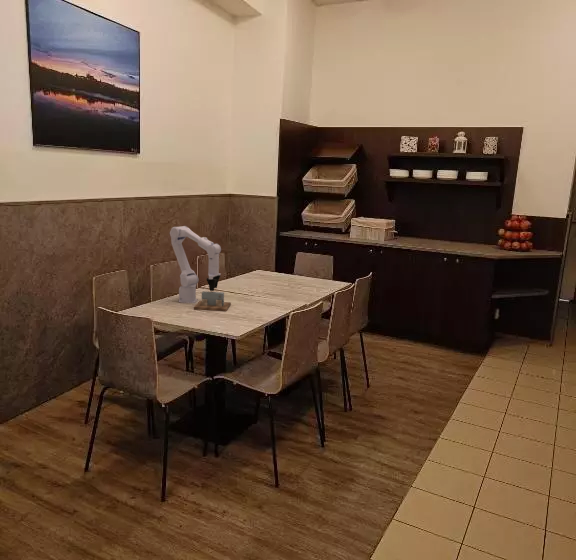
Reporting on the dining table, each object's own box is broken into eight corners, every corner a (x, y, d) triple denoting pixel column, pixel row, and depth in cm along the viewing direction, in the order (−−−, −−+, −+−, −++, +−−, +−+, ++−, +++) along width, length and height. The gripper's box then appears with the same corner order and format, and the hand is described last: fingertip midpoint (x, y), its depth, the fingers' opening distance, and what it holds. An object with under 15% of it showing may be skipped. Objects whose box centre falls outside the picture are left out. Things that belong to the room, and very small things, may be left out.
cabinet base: (193, 309, 277) (193, 300, 276) (199, 303, 290) (199, 294, 289) (226, 311, 276) (226, 302, 275) (230, 305, 289) (230, 296, 288)
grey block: (201, 305, 281) (201, 292, 279) (202, 303, 285) (202, 291, 283) (222, 306, 280) (222, 293, 279) (223, 304, 284) (224, 292, 283)
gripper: (217, 268, 275) (217, 292, 278) (223, 263, 289) (222, 286, 292) (205, 267, 276) (204, 291, 279) (211, 263, 290) (210, 286, 293)
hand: (213, 289), depth 285 cm, fingers open, 7 cm apart
